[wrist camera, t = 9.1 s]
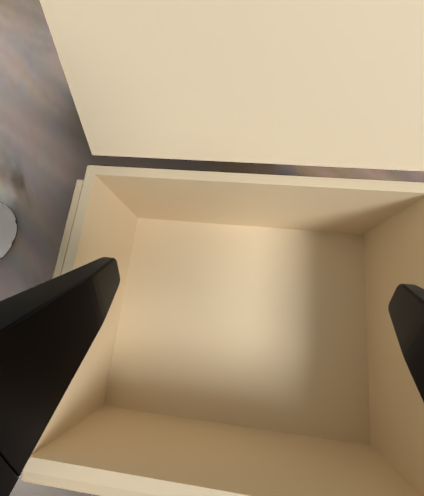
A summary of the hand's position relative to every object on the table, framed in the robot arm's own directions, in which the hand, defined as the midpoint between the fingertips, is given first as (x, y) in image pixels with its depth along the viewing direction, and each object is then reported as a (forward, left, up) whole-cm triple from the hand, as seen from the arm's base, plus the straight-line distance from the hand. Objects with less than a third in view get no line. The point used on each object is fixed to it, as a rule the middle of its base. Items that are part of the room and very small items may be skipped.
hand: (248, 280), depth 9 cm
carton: (-1, -1, -13) cm, 13 cm away
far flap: (+7, +7, -1) cm, 9 cm away
